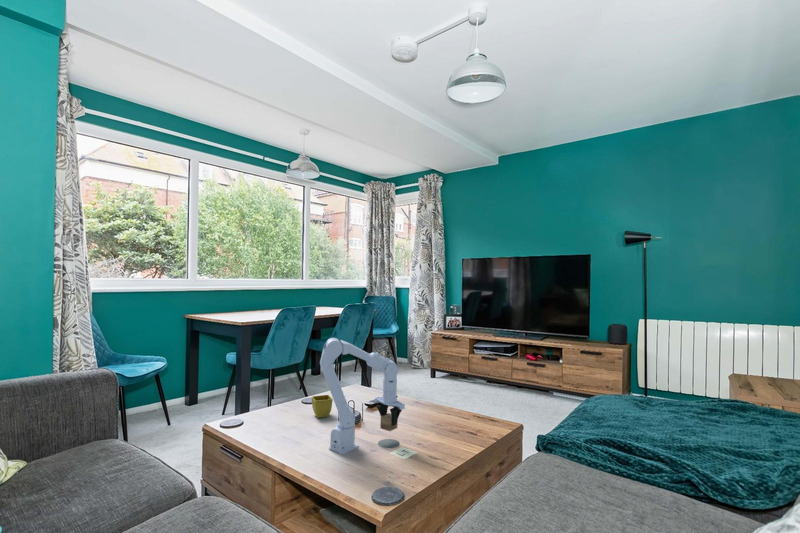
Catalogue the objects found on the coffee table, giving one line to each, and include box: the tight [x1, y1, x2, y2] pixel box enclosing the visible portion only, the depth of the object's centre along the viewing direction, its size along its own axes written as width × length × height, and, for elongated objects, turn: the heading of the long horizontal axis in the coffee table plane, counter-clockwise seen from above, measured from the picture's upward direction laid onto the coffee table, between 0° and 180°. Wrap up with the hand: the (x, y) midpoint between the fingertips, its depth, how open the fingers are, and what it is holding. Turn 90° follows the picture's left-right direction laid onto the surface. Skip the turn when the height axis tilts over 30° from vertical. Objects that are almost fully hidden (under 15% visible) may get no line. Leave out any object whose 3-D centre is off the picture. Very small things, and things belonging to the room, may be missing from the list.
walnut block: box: [379, 412, 399, 432], centre depth 165 cm, size 5×5×5 cm
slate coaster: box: [377, 438, 401, 449], centre depth 165 cm, size 9×9×1 cm
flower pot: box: [311, 394, 334, 419], centre depth 197 cm, size 9×9×9 cm
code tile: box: [388, 446, 418, 460], centre depth 156 cm, size 8×8×1 cm
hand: (389, 423), depth 165 cm, fingers closed on walnut block, 5 cm apart
